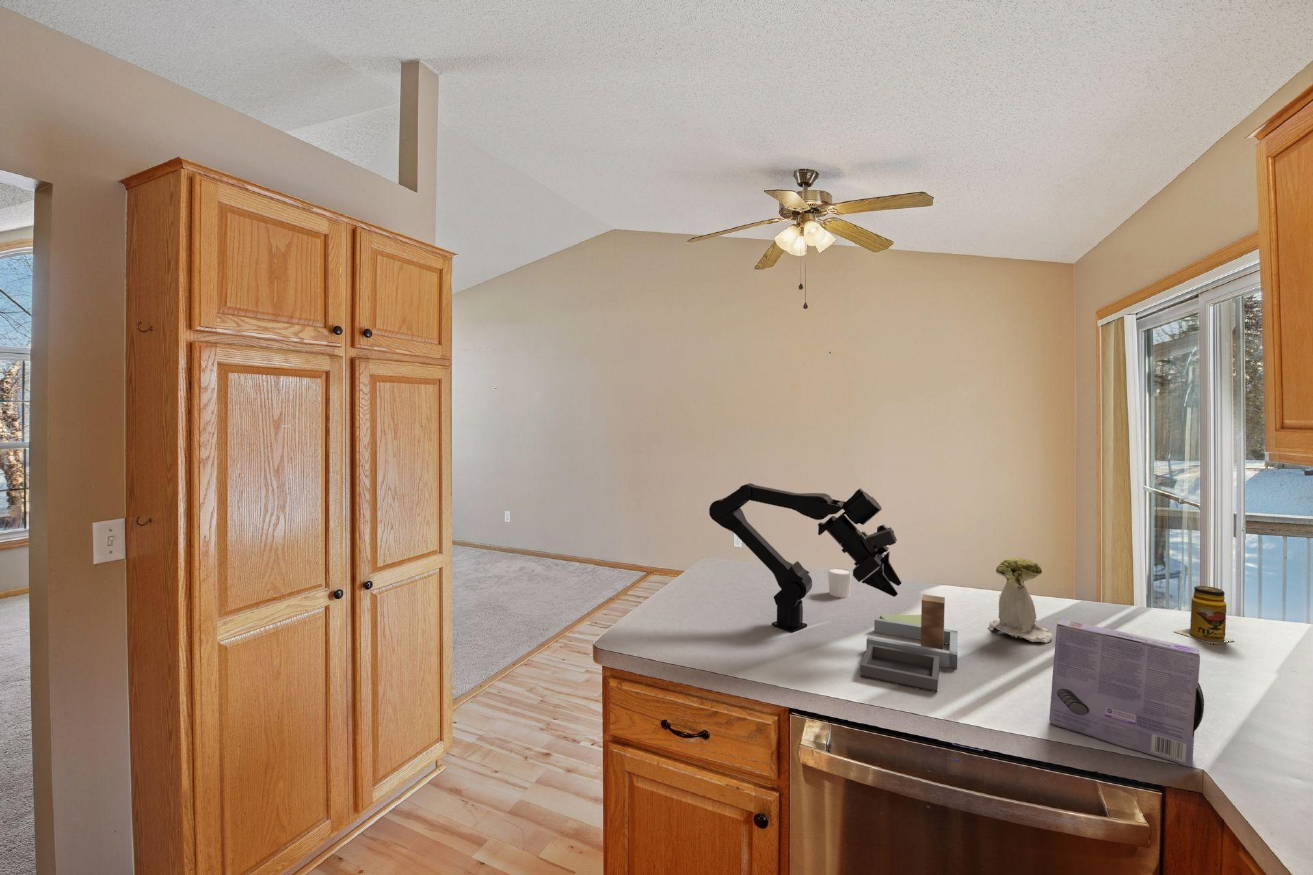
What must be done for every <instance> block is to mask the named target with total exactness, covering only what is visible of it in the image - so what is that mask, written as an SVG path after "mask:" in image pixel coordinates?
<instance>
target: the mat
mask: <svg viewBox="0 0 1313 875" xmlns="http://www.w3.org/2000/svg"><path fill="white" fill-rule="evenodd" d="M879 618H880V619H885V620H892V621H898V622H904V623H911V624H917V625H921V614H881V615H880V616H879Z"/></svg>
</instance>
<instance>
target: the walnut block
mask: <svg viewBox="0 0 1313 875" xmlns="http://www.w3.org/2000/svg"><path fill="white" fill-rule="evenodd" d="M945 602H946V598H945V596H938V595H930V594H922V597H921V614H920V615H921V640H920V646H924V647H930V648H936V649H942V650H943V649H944V646H945V645H944V629H945V605H946V604H945ZM944 650H945V649H944Z"/></svg>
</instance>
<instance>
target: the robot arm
mask: <svg viewBox="0 0 1313 875" xmlns="http://www.w3.org/2000/svg"><path fill="white" fill-rule="evenodd" d="M749 501H751V502H756V503H761V504H766V505H771V506H775V507H781V508H786V509H788V510H792V511H795V512H797V513H799V514H800V515H802V516H805V517H808V518H810V519H813V520H815V521H820V522H818V524H817V528H818V532H817V534H818V536H821V535H822V534H824V533H825V532H827V533H828V534H829V535H830V536H831V537H832V538H833V540H835V542H836V543H837V544H839V546H840V547H841V548H842V549H841V552H842V553H843V554H847V555H848V556H850V558H851V559H852V560H853V561H854V563H853V564H854V568H853V569H852V577H854V579H855V580H856V581H857V583H862V584H865V585H867V586H870V587H872V588H874V589H877V590H879V591H881V592H883V593H884V594H887V595H889V596H891V597H897V595H898V594H899V593H898V591H897V590H896V588H895V587H894V586H893V584H894V585H896V586H897V587H899V586H900V585H902V581H901V579H900V577H899V575H898V574H897V572H896V571H895V569H894V567H893V565H892V563H891V561H890V554H891V553H890V551H889V547H888V546H892V545H894V544H896V543H897V541H898V539H897V537H896V534H895V531H894V530H893V529H892V527H888V526H886V525H885V524H881V525H878V526H877V528H876V532H873V533H871V534H868V533H867V532H866V531H864V530H863V531H860V530H859V529H858V527H856V526H855V525H859V524H860V525H861V526H864V525H865V524H867V523H868V522H869V521H870V520H872V519H873V517H875V516H876V515H877V514H878V513H879V512H880V511H882V509H883V508H882V506H881V505H880V503H879V502H878V501H877V500H876V499H875V498H874V497H873V496H871V495H870V494H868V492H866V491H864V490H863V489H862V488H859V489H857V490H856V491H855V492H854V493H853V494H852V495H851V497H849V498H848V499H847V500H846V501H844V500H838V499H834V498H832V497H831V496H830V495H829V494H827V493H824V492H823V493H822V492H821V493H820V492H806V493H802V492H798V493H797V492H791V491H787V490H782V489H776V488H773V487H766V486H761V485H757V484H756V485H755V484H754V483H750V482H749V483H746V484H743V485H740V487H739V488H738V489H736V490H735V491H734V492H731V494H729V495H727V496H726V497H723V498H720V499H717V500H714V501H713V502H712V503H711V504H710V506H709V508H708V509H709V510H708V513H709V514H708V515H709V516H710V518H711V520H712V521H714V522H716V524H718V525H719V526H721V527H722V528H724V529H726V530H728V531H730V532H732V533H733V534H734V535H736V536H737V538H739V539H740V540H741V542H742V543H743V544H745V546H746V547H747V548H748V549H749V550H750V551H751V552H752V553H753V555H755V556H756V558H758V559H759V560H760V561H761V563H763V564H764V565H765V567H766V568H767V569H768V570H770V572H771V573H772V574H773V576H774V578H775V580H776V582H777V585H778V586H779V588H780V590H779V591H777V592H776V594H775V595H774V596H773V600H774V603H775V605H776V620H775V621H773V622H771V626H774V627H777V628H779V629H782V630H785V631H788V632H791V633H792V632H797V631H798V630H801V629H803V628H807V627H808V623H806V622H803V620H804V618H803V614H804V607H803V599H804V598H805V597H806V596H807V594H808V593H809V592H810V591H811V589H812V588H813V579H812V577H811V575H810V571H808V570H807V569H805V568H804V567H803V565H802V564H801V563H800V562H799V561H798V560H796V561H795V562H794V563H792V562H789V561H788V560H786V559H785V558H784V557H783V556H782V555H781V553H779V552H778V551H777V550H776V549H775V548H774V546H772V545H771V544H770V543H769V542H768V541H767V540H766V539H765V537H763V535H761V534H760V533H759V532H758V530H756V528H754V527H753V525H752V524H750V523H749V522H748V520H747V518H746V516H745V514H744V511H743V510H742V507H743V506H745V505H746V504H747V503H748V502H749ZM842 510H843V512H842V513H841V514H840V515H838V517H836V516H835V515H837V514H838V513H839V512H841V511H842ZM830 515H832V516H830ZM828 516H830V517H828ZM827 517H828V519H827V520H826V521H824V522H821V521H822V520H824V519H825V518H827ZM884 553H885V554H884Z"/></svg>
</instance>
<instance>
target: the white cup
mask: <svg viewBox="0 0 1313 875" xmlns="http://www.w3.org/2000/svg"><path fill="white" fill-rule="evenodd" d="M852 577H853V571H851V570H849V569H845V568H836V567H835V568H829V569H828V570H827V579H828V591H829V592H828V593H830V594H829V595H830V596H831V595H833V596H832V597H834V596H835V598H839V597H840V598H841V599H843V598H844V599H845V598H849V597H850V593H851V586H852Z"/></svg>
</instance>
